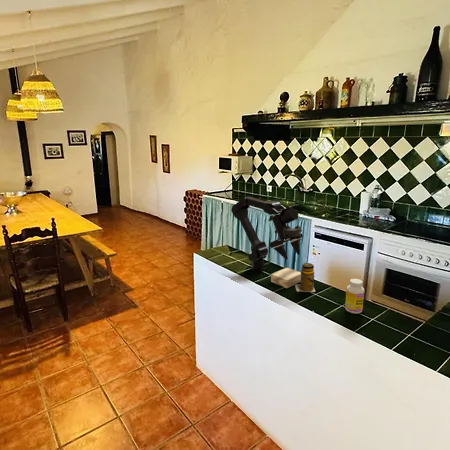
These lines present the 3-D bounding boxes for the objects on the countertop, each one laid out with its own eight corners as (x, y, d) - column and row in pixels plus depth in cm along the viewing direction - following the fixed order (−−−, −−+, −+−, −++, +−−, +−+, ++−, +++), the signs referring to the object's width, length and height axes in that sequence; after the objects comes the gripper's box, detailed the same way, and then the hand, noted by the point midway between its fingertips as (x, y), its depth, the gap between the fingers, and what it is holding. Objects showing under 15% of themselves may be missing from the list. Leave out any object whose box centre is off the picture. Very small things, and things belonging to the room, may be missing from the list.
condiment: (315, 292, 146) (316, 267, 143) (296, 291, 147) (297, 267, 144) (312, 285, 153) (313, 261, 150) (294, 284, 154) (295, 261, 151)
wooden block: (271, 281, 158) (271, 274, 157) (286, 274, 165) (286, 267, 164) (287, 288, 150) (287, 280, 149) (302, 280, 158) (302, 273, 157)
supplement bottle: (355, 316, 126) (358, 286, 122) (341, 308, 131) (343, 280, 128) (365, 311, 129) (368, 281, 126) (351, 304, 134) (354, 276, 131)
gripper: (279, 224, 142) (292, 257, 140) (305, 217, 154) (317, 248, 151) (263, 232, 150) (275, 263, 148) (288, 224, 162) (300, 253, 160)
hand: (293, 257), depth 152 cm, fingers open, 9 cm apart
